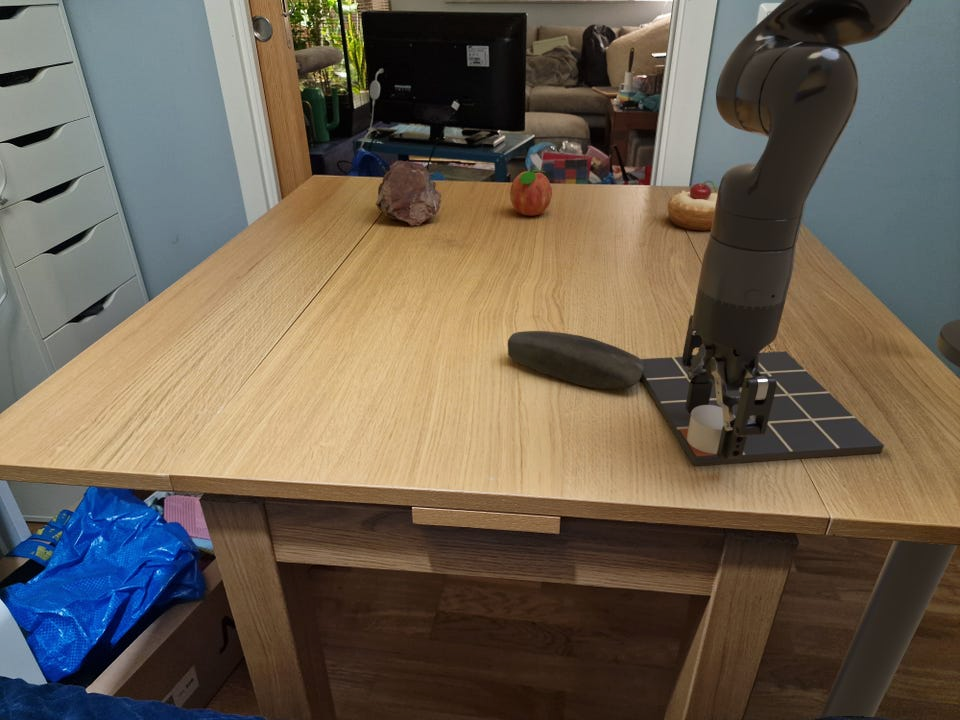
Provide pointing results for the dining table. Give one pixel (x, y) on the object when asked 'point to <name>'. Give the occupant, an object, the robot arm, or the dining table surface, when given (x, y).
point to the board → (792, 421)
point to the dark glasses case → (576, 359)
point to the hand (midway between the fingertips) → (711, 433)
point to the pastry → (693, 207)
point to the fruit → (531, 192)
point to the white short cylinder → (705, 428)
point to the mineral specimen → (408, 193)
